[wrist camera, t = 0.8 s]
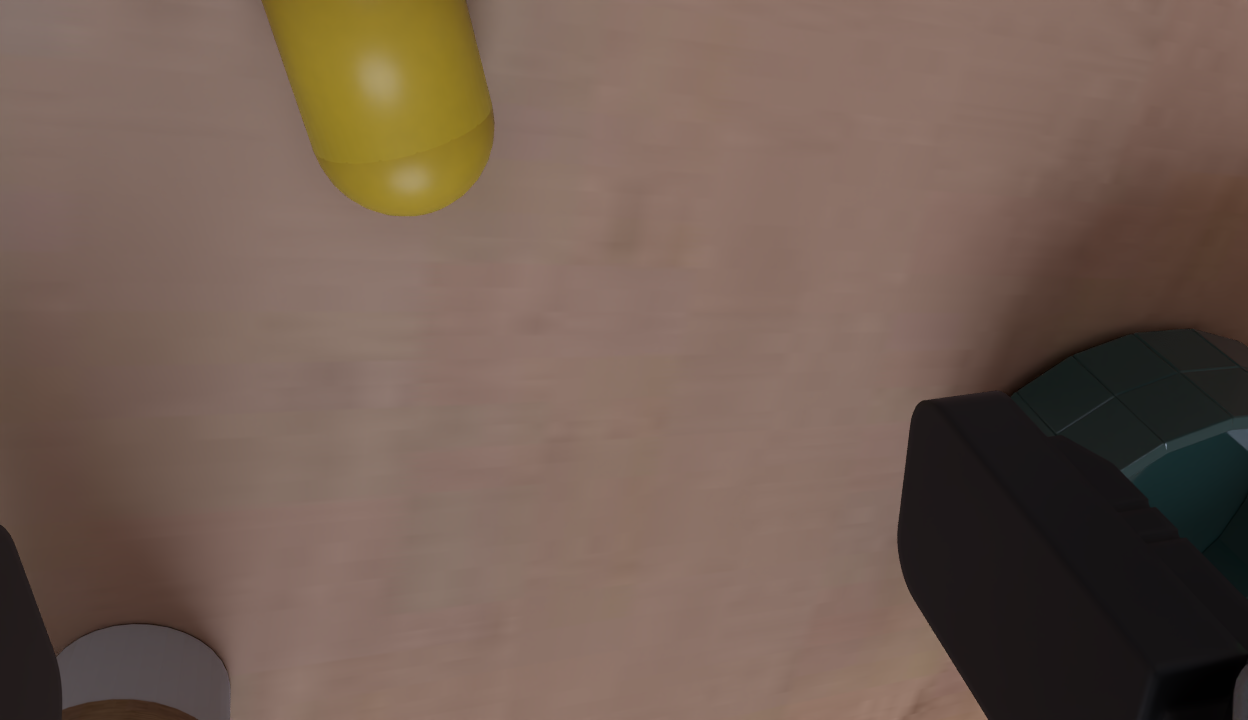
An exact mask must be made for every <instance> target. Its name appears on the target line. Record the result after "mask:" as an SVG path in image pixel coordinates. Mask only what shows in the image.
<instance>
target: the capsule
mask: <svg viewBox="0 0 1248 720" xmlns="http://www.w3.org/2000/svg"><path fill="white" fill-rule="evenodd" d="M262 3H263V6H264V9H265V12H266V14H267V17H268V20H269V23H270V26H271V29H272V32H273V35H274V38H275V41H276V44H277V46H278V49H279V52H280V55H281V58H282V61H283V64H284V67H285V70H286V73H287V75H288V78H289V81H290V84H291V87H292V90H293V93H294V96H295V99H296V102H297V105H298V107H299V110H300V113H301V116H302V119H303V122H304V125H305V128H306V131H307V134H308V136H309V139H310V142H311V145H312V148H313V151H314V153H315V155H316V158H317V160H318V162H319V164H320V166H321V168H322V169H323V171H324V172H325V174H326V175H327V176H328V178H329V179H330V180H331V182H332V183H333V184H334V186H335V187H337V188H338V189H339V190H340V191H341V192H342V193H343V194H344V195H345V196H347V197H348V198H350V199H351V200H353V201H354V202H356V203H358V204H360V205H361V206H363V207H365V208H367V209H370V210H373V211H376V212H379V213H383V214H386V215H392V216H419V215H424V214H428V213H432V212H435V211H438V210H440V209H442V208H444V207H446V206H448V205H449V204H451V203H453V202H454V201H456V200H457V199H459V198H460V197H462V196H463V195H464V194H465V193H466V192H467V191H468V190H469V189H470V188H471V187H472V185H473V184H474V183H475V182H476V181H477V180H478V178H479V176H480V175H481V173H482V171H483V169H484V167H485V165H486V164H487V162H488V159H489V155H490V152H491V148H492V144H493V138H494V115H493V109H492V103H491V99H490V95H489V91H488V87H487V83H486V79H485V75H484V71H483V67H482V63H481V59H480V55H479V51H478V47H477V43H476V39H475V35H474V31H473V27H472V23H471V19H470V15H469V11H468V7H467V3H466V0H262Z"/></svg>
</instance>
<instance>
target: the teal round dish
mask: <svg viewBox="0 0 1248 720" xmlns="http://www.w3.org/2000/svg"><path fill="white" fill-rule="evenodd" d="M1010 398H1011V399H1012V400H1013V401H1014V402H1015V403H1016V404H1017V405H1018V406H1019V407H1020V408H1021V409H1022V410H1023V412H1024V413H1025V414H1026V415H1027V416H1028V417H1029V418H1030V419H1031V420H1032V421H1033V422H1034V423H1035V424H1036V425H1037V427H1038V428H1039V429H1040V430H1041V431H1042V432H1043V433H1044V434H1045V435H1046V436H1047V437H1050V436H1057V435H1063V436H1065V437H1066V438H1068V439H1070V440H1072V441H1074V442H1075V443H1077V444H1079V445H1081V446H1083V447H1084V448H1086V449H1088V450H1090V451H1092V452H1093V453H1095V454H1097V455H1099V456H1101V457H1102V458H1104V459H1106V460H1108V461H1110V462H1111V463H1113V464H1114V465H1115V466H1116V467H1117V468H1118V469H1119V470H1120V471H1121V472H1122V473H1123V474H1124V475H1125V476H1126V477H1127V478H1128V479H1129V480H1130V481H1131V482H1132V483H1133V484H1134V485H1135V486H1136V487H1137V488H1138V489H1139V490H1140V491H1141V492H1142V493H1143V494H1144V495H1145V496H1146V497H1147V498H1148V499H1149V500H1148V502H1149V506H1150V508H1151V507H1156V508H1157V509H1158V510H1159V511H1160V512H1161V513H1162V514H1163V515H1164V516H1165V517H1166V518H1167V519H1168V520H1169V521H1170V522H1171V523H1172V524H1173V525H1174V526H1175V527H1176V528H1177V529H1178V534H1179V537H1180V538H1187V539H1188V540H1189V541H1190V542H1191V543H1192V544H1193V545H1194V546H1195V547H1196V548H1197V549H1198V550H1199V551H1200V552H1201V553H1202V554H1203V555H1204V556H1205V557H1206V558H1207V559H1208V560H1209V561H1210V562H1211V563H1212V564H1213V565H1214V566H1215V567H1216V568H1217V569H1218V570H1219V571H1220V573H1221V574H1222V575H1223V576H1224V577H1225V578H1226V579H1227V580H1228V581H1229V582H1230V583H1231V584H1232V585H1233V586H1234V587H1235V588H1236V589H1237V590H1238V591H1239V592H1240V593H1241V594H1242V595H1243V596H1244V597H1245V598H1246V599H1247V600H1248V347H1247V346H1246V345H1244V344H1243V343H1241V342H1239V341H1237V340H1233V339H1229V338H1226V337H1222V336H1218V335H1214V334H1211V333H1207V332H1203V331H1199V330H1196V329H1176V330H1164V331H1151V332H1138V333H1133V334H1128V335H1126V336H1123V337H1120V338H1117V339H1115V340H1112V341H1109V342H1106V343H1104V344H1101V345H1098V346H1095V347H1093V348H1090V349H1087V350H1084V351H1082V352H1079V353H1076V354H1074V355H1073V356H1069V357H1068V358H1066V359H1065V360H1063V361H1062V362H1060V363H1059V364H1057V365H1056V366H1054V367H1053V368H1051V369H1050V370H1048V371H1047V372H1045V373H1043V374H1042V375H1040V376H1039V377H1037V378H1036V379H1034V380H1033V381H1031V382H1030V383H1028V384H1027V385H1025V386H1024V387H1022V388H1021V389H1019V390H1018V391H1017V392H1015V393H1014V394H1013V395H1012V396H1011V397H1010Z"/></svg>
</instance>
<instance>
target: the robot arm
mask: <svg viewBox="0 0 1248 720" xmlns="http://www.w3.org/2000/svg"><path fill="white" fill-rule="evenodd" d="M1148 500H1149V499H1148V498H1147V497H1146V496H1145V495H1144V494H1143V493H1142V492H1141V491H1140V490H1139V489H1138V488H1137V487H1136V486H1135V485H1134V484H1133V483H1132V482H1131V481H1130V480H1129V479H1128V478H1127V477H1126V476H1125V475H1124V474H1123V473H1122V472H1121V471H1120V470H1119V469H1118V468H1117V467H1116V466H1115V465H1114V464H1113V463H1111V462H1110V461H1108V460H1106V459H1104V458H1102V457H1101V456H1099V455H1097V454H1095V453H1093V452H1092V451H1090V450H1088V449H1086V448H1084V447H1083V446H1081V445H1079V444H1077V443H1075V442H1074V441H1072V440H1070V439H1068V438H1066V437H1065V436H1063V435H1057V436H1050V437H1047V436H1046V435H1045V434H1044V433H1043V432H1042V431H1041V430H1040V429H1039V428H1038V427H1037V425H1036V424H1035V423H1034V422H1033V421H1032V420H1031V419H1030V418H1029V417H1028V416H1027V415H1026V414H1025V413H1024V412H1023V410H1022V409H1021V408H1020V407H1019V406H1018V405H1017V404H1016V403H1015V402H1014V401H1013V400H1012V399H1011V398H1010V397H1009V396H1008V395H1007V394H1005V393H1003V392H1002V391H990V392H982V393H975V394H968V395H960V396H953V397H945V398H938V399H931V400H923V401H921V402H920V403H919V404H918V405H917V406H916V408H915V410H914V412H913V415H912V418H911V424H910V432H909V440H908V448H907V456H906V465H905V473H904V481H903V489H902V498H901V506H900V514H899V522H898V533H897V543H898V553H899V560H900V564H901V569H902V572H903V576H904V579H905V582H906V585H907V587H908V589H909V592H910V594H911V595H912V597H913V599H914V601H915V602H916V604H917V605H918V607H919V609H920V610H921V612H922V614H923V615H924V617H925V618H926V620H927V622H928V623H929V625H930V626H931V628H932V630H933V631H934V633H935V634H936V636H937V638H938V639H939V641H940V643H941V644H942V646H943V647H944V649H945V651H946V652H947V654H948V655H949V657H950V659H951V660H952V662H953V663H954V665H955V667H956V668H957V670H958V672H959V673H960V675H961V676H962V678H963V680H964V681H965V683H966V684H967V686H968V688H969V689H970V691H971V692H972V694H973V696H974V697H975V699H976V701H977V702H978V704H979V705H980V707H981V709H982V710H983V712H984V713H985V715H986V717H987V718H988V720H1248V600H1247V599H1246V598H1245V597H1244V596H1243V595H1242V594H1241V593H1240V592H1239V591H1238V590H1237V589H1236V588H1235V587H1234V586H1233V585H1232V584H1231V583H1230V582H1229V581H1228V580H1227V579H1226V578H1225V577H1224V576H1223V575H1222V574H1221V573H1220V571H1219V570H1218V569H1217V568H1216V567H1215V566H1214V565H1213V564H1212V563H1211V562H1210V561H1209V560H1208V559H1207V558H1206V557H1205V556H1204V555H1203V554H1202V553H1201V552H1200V551H1199V550H1198V549H1197V548H1196V547H1195V546H1194V545H1193V544H1192V543H1191V542H1190V541H1189V540H1188V539H1187V538H1180V537H1179V534H1178V529H1177V528H1176V527H1175V526H1174V525H1173V524H1172V523H1171V522H1170V521H1169V520H1168V519H1167V518H1166V517H1165V516H1164V515H1163V514H1162V513H1161V512H1160V511H1159V510H1158V509H1157V508H1156V507H1151V508H1150V506H1149V502H1148ZM0 720H62V685H61V677H60V671H59V666H58V662H57V659H56V656H55V653H54V650H53V647H52V644H51V642H50V639H49V636H48V634H47V631H46V628H45V625H44V623H43V620H42V617H41V614H40V612H39V609H38V606H37V604H36V601H35V598H34V595H33V593H32V590H31V587H30V585H29V582H28V579H27V576H26V574H25V571H24V568H23V565H22V563H21V560H20V557H19V555H18V552H17V549H16V546H15V544H14V542H13V539H12V538H11V536H10V534H9V533H8V531H7V530H6V529H5V528H4V527H3V526H2V525H0Z"/></svg>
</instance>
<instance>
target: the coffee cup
mask: <svg viewBox="0 0 1248 720" xmlns="http://www.w3.org/2000/svg"><path fill="white" fill-rule="evenodd" d="M56 659H57V662H58V666H59V671H60V677H61V685H62V720H230V682H229V677H228V673H227V671H226V669H225V667H224V665H223V663H222V661H221V660H220V658H219V657H218V656H217V655H216V654H215V653H214V652H213V650H212V649H210V648H209V647H208V646H206V645H205V644H204V643H202V642H201V641H200V640H198V639H196V638H194V637H192V636H190V635H188V634H186V633H184V632H181V631H178V630H175V629H172V628H169V627H163V626H156V625H150V624H128V625H119V626H112V627H108V628H105V629H101V630H97V631H94V632H92V633H90V634H87V635H85V636H83V637H81V638H79V639H78V640H76V641H75V642H73V643H72V644H70V645H69V646H67V647H66V648H65V649H64V650H63V651H62V652H61V653H60V654H59V655H58V656H57V657H56Z"/></svg>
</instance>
